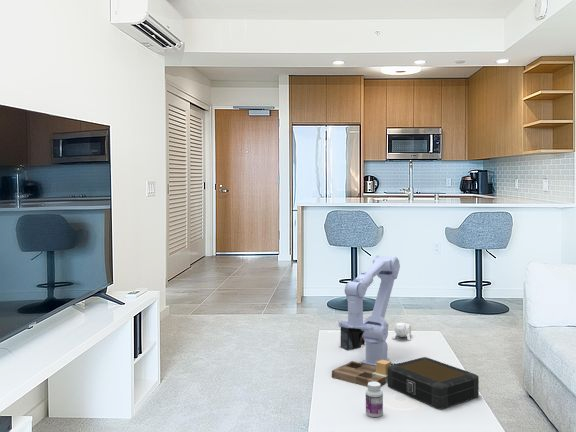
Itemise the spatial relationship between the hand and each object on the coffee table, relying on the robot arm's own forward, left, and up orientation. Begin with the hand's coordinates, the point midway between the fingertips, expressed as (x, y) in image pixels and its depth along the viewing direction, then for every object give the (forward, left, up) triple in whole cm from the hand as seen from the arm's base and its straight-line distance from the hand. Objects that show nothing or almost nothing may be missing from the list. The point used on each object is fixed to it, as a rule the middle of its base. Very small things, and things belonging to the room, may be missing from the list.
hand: (355, 347), depth 200 cm
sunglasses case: (-37, -25, -10) cm, 45 cm away
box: (-26, -19, -10) cm, 33 cm away
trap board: (+4, +6, -9) cm, 11 cm away
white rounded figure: (-52, -7, -10) cm, 54 cm away
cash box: (+1, +31, -10) cm, 33 cm away
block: (0, +12, -7) cm, 14 cm away
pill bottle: (+29, +25, -10) cm, 39 cm away
